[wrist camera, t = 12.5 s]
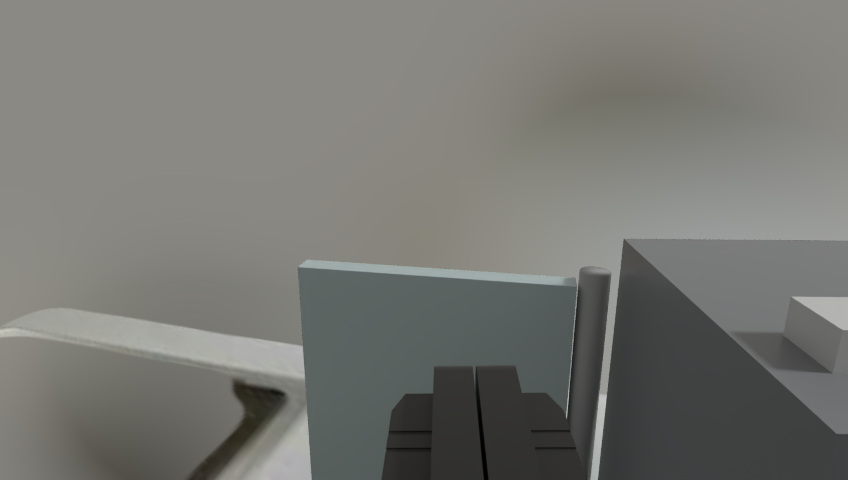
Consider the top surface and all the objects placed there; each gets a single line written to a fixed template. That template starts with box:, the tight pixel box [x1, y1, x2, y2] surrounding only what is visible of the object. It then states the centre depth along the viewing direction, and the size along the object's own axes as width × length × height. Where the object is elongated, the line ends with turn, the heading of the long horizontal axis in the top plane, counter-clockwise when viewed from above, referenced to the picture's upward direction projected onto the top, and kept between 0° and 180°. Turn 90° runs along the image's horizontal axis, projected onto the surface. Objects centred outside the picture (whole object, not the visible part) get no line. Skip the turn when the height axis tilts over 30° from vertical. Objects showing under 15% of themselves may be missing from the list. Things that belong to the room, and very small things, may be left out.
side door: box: [298, 260, 611, 480], centre depth 26 cm, size 2×13×13 cm, turn 79°
